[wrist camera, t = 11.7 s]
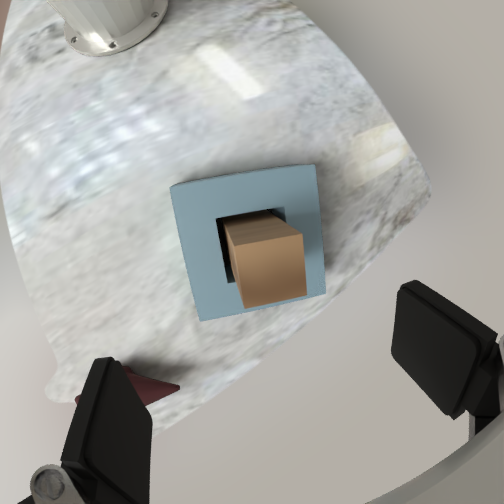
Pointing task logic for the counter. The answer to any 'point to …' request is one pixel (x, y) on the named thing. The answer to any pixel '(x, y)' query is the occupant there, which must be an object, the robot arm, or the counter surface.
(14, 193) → the counter surface
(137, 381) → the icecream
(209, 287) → the socket block
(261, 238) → the walnut peg
